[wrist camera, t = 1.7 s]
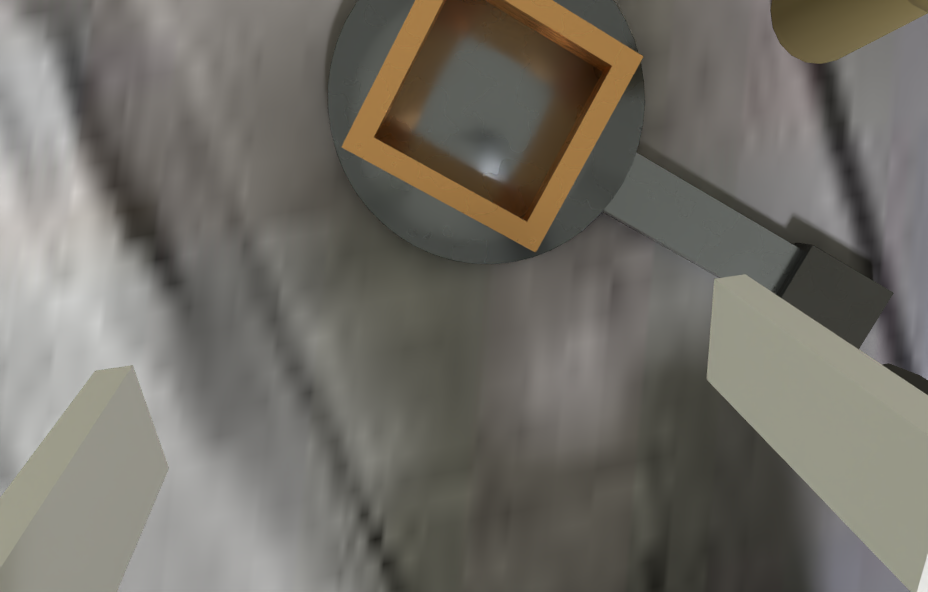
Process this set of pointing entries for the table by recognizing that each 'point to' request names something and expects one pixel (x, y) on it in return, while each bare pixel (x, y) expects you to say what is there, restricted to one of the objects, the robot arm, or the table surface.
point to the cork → (838, 24)
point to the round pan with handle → (540, 146)
